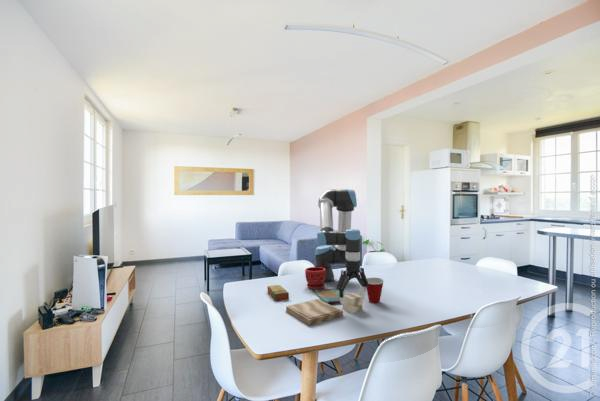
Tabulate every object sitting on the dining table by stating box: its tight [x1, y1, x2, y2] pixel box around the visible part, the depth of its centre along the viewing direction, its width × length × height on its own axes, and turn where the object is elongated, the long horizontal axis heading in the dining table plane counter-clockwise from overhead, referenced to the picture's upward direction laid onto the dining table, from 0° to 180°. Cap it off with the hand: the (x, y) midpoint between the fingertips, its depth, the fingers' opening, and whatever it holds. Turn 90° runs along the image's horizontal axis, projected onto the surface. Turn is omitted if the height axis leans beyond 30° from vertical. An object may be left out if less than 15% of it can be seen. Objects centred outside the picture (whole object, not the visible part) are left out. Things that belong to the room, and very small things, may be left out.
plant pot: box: [304, 266, 326, 290], centre depth 187 cm, size 13×13×12 cm
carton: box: [267, 284, 290, 302], centre depth 170 cm, size 8×16×4 cm, turn 22°
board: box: [285, 298, 344, 327], centre depth 144 cm, size 20×20×3 cm
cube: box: [342, 292, 363, 314], centre depth 150 cm, size 7×7×7 cm
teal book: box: [313, 287, 347, 306], centre depth 169 cm, size 17×23×2 cm
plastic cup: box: [366, 277, 385, 304], centre depth 162 cm, size 11×11×12 cm
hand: (352, 301), depth 150 cm, fingers open, 13 cm apart
